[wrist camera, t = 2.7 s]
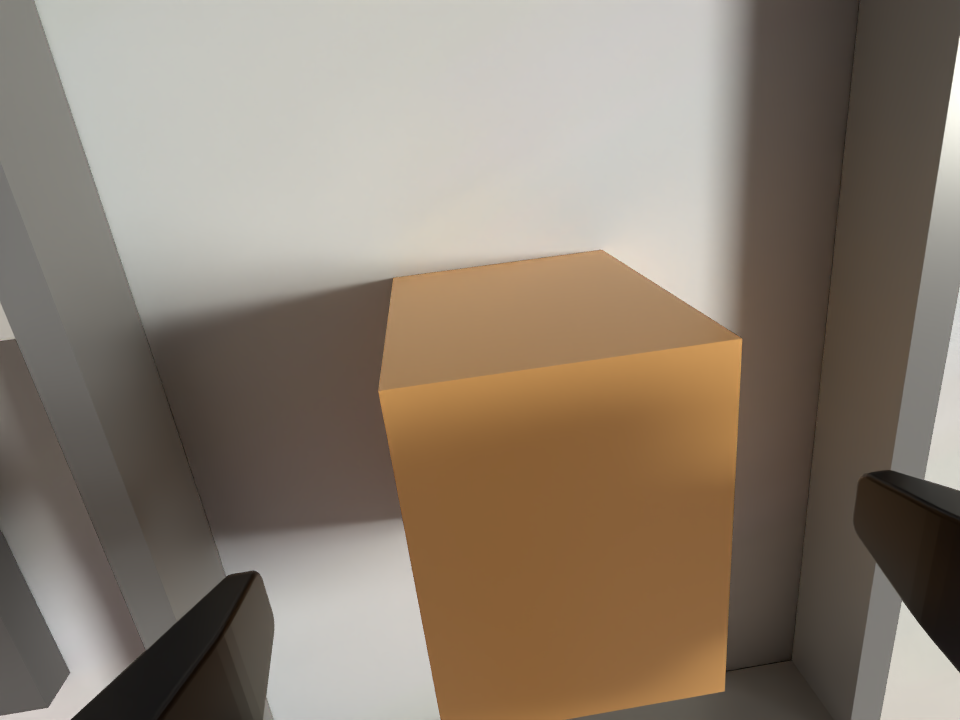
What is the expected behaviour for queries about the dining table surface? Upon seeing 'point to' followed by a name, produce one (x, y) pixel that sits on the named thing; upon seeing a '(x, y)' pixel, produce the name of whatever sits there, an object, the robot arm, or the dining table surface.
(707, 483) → the block
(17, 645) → the rubber mat
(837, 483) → the case
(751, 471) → the dining table surface
